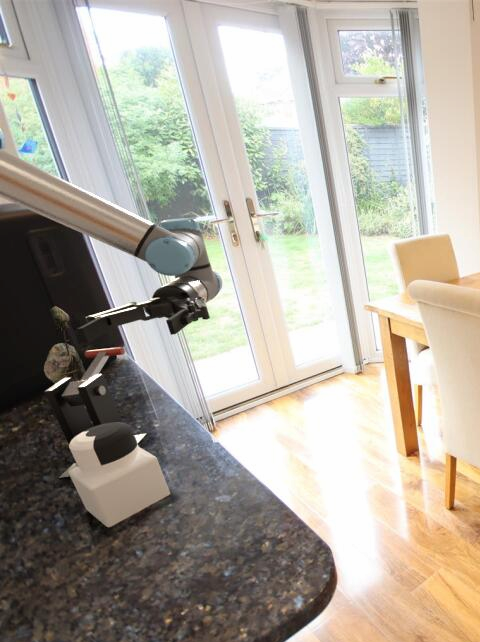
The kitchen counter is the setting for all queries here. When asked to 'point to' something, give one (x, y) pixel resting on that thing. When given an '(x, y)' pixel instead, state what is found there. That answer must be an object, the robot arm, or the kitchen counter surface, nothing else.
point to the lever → (89, 373)
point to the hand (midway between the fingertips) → (127, 331)
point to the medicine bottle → (115, 473)
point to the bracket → (77, 417)
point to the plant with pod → (63, 355)
